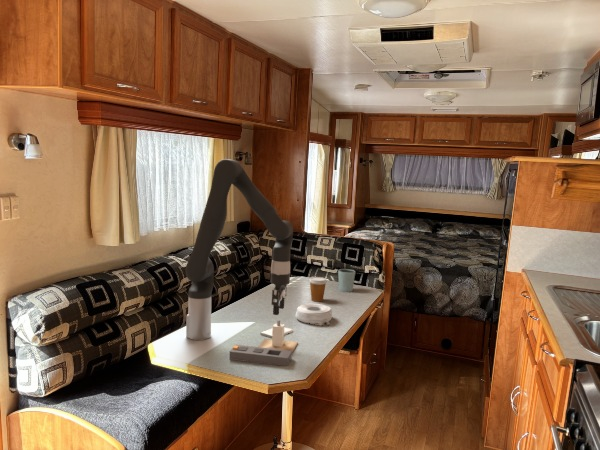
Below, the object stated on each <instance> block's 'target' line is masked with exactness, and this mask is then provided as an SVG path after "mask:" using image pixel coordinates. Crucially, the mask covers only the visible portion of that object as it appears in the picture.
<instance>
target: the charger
mask: <svg viewBox="0 0 600 450" xmlns="http://www.w3.org/2000/svg"><path fill="white" fill-rule="evenodd" d="M276 321H277V322H276V323H274V324H273V325H272V328H273V331H272V338H271V339H272V346H278V347H282V346H283V344H284V341H285V335H284V327H285V324H284V323H283V324H282V323H281V320H280V319H277V320H276Z"/></svg>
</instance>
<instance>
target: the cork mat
mask: <svg viewBox="0 0 600 450" xmlns="http://www.w3.org/2000/svg"><path fill="white" fill-rule="evenodd" d="M298 344H299V342H298V341H291V340H290V341H289V340H284V344H283V346H282V347H278V346H272V338H264V339H263V340H262V341H261V342H260V343H259V345H258V346H257V347H262V348H271V349H279V350H288V351H292V353H294V351H295V349H296V348H297V345H298Z"/></svg>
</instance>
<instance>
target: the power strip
mask: <svg viewBox="0 0 600 450" xmlns="http://www.w3.org/2000/svg"><path fill="white" fill-rule="evenodd" d="M292 358H293V352H292V351H288V350H279V349H271V348H262V347H258V346H252V345H242V344H235V345H234V346H232V348H231V349H230V350H229V360H234V361H240V362H241V361H244V362H250V363H259V364H266V365H267V364H268V365H275V366H284V367H288V366H289V364H290V362H291V361H292Z"/></svg>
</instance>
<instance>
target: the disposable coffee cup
mask: <svg viewBox="0 0 600 450" xmlns="http://www.w3.org/2000/svg"><path fill="white" fill-rule="evenodd" d="M308 281H309V285H310V286H309V287H310V299H311V301H312V302H314V303H315V302H324V296H325V290H326V284H327V278H325V277H322V276H321V277H319V276H312V277H310V278H309V280H308Z"/></svg>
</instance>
